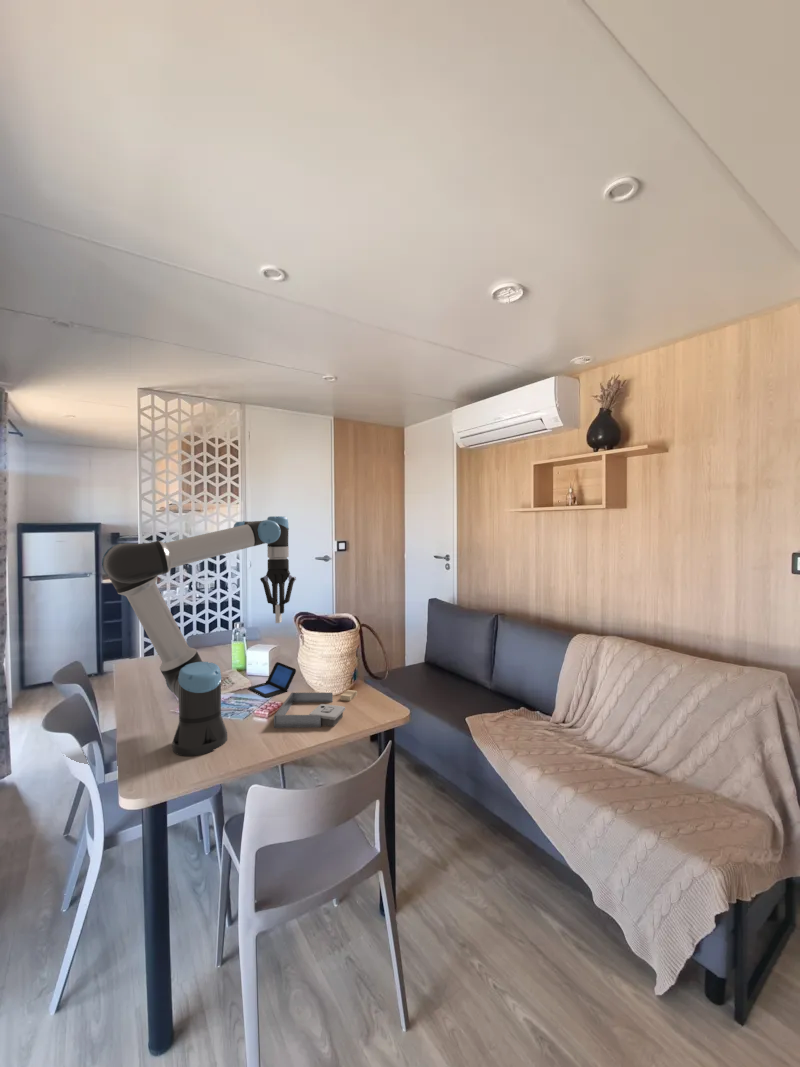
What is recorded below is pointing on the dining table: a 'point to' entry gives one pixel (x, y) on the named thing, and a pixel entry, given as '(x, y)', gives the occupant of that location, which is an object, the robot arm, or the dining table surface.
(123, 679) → the dining table surface
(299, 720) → the socket recess
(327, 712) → the electrical switch
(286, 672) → the handheld game console
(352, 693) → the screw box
